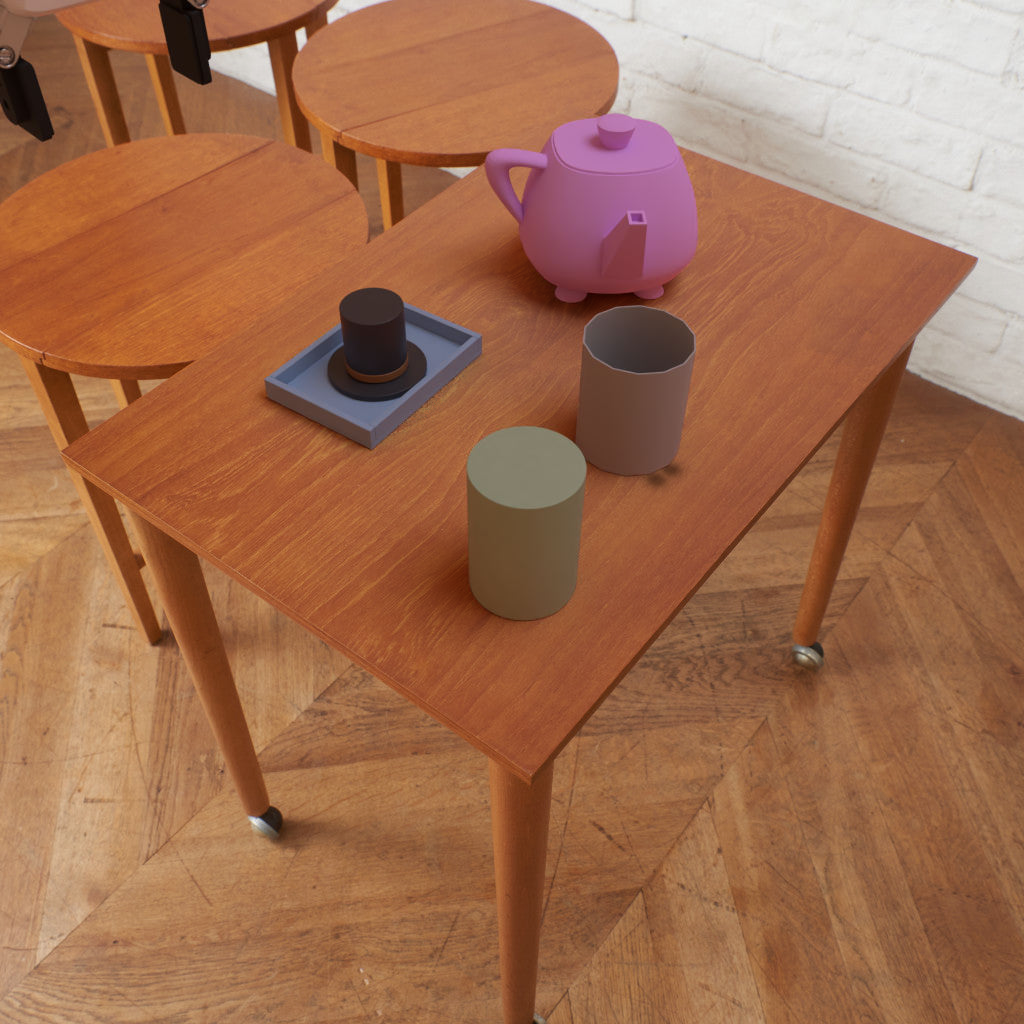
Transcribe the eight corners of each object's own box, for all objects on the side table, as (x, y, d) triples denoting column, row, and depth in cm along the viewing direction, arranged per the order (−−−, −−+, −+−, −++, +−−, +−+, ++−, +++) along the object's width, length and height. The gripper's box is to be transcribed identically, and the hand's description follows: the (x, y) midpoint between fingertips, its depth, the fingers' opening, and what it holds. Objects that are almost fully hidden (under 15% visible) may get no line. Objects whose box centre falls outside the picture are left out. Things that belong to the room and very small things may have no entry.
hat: (335, 409, 86) (326, 343, 81) (321, 348, 91) (312, 283, 87) (436, 393, 87) (433, 328, 83) (416, 334, 93) (412, 270, 88)
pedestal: (483, 630, 71) (482, 518, 63) (458, 549, 76) (454, 436, 68) (590, 608, 72) (602, 496, 64) (558, 530, 77) (566, 417, 69)
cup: (649, 490, 80) (665, 388, 73) (556, 451, 83) (562, 349, 76) (695, 428, 85) (714, 327, 78) (606, 393, 88) (616, 293, 81)
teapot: (495, 351, 92) (496, 195, 81) (479, 229, 106) (477, 83, 95) (715, 340, 94) (744, 186, 83) (670, 222, 107) (690, 76, 97)
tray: (371, 450, 83) (369, 431, 82) (267, 397, 87) (263, 379, 86) (482, 353, 92) (482, 334, 90) (382, 310, 96) (380, 291, 95)
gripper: (144, -315, 52) (212, 39, 64) (-227, -268, 43) (-67, 130, 55) (233, -293, 48) (286, 78, 60) (-154, -237, 39) (0, 182, 52)
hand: (117, 103), depth 58 cm, fingers open, 9 cm apart
